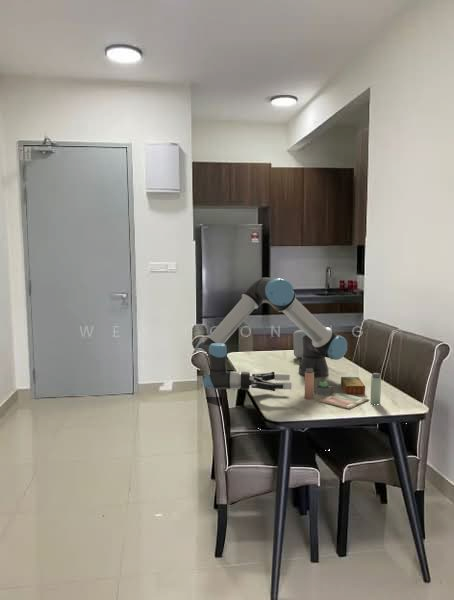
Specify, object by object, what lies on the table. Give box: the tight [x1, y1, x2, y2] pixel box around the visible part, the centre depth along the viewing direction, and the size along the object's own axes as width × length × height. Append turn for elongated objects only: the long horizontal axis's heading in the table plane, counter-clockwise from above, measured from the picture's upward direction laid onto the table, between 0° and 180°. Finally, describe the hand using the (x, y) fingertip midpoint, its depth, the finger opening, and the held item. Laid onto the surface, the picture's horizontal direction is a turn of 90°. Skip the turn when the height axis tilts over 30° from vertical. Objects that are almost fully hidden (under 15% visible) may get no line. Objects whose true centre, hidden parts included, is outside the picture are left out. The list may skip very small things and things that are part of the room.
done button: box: [319, 380, 328, 388], centre depth 203 cm, size 3×3×2 cm
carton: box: [340, 376, 366, 396], centre depth 207 cm, size 8×16×4 cm, turn 175°
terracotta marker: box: [304, 368, 315, 400], centre depth 195 cm, size 4×4×12 cm
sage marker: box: [369, 372, 382, 406], centre depth 187 cm, size 4×4×12 cm
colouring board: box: [318, 391, 370, 410], centre depth 190 cm, size 16×14×1 cm
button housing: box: [314, 384, 334, 396], centre depth 203 cm, size 6×6×2 cm
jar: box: [292, 327, 303, 359], centre depth 270 cm, size 19×15×25 cm
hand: (290, 381), depth 195 cm, fingers open, 13 cm apart
